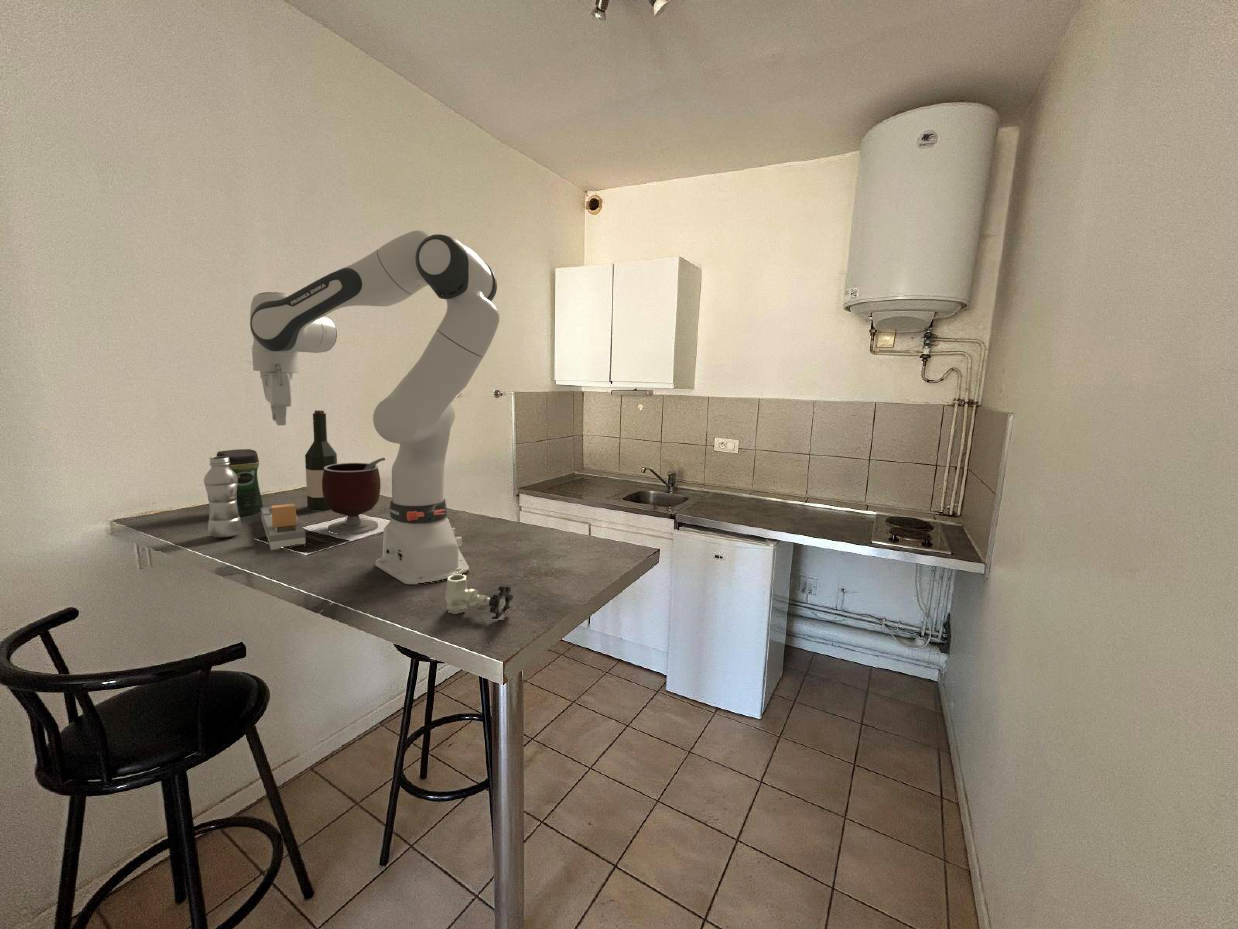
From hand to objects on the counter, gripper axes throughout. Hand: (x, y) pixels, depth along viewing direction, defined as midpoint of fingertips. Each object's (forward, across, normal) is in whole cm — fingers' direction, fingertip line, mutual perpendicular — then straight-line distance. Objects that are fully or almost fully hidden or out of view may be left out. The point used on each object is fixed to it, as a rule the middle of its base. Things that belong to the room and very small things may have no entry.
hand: (279, 422), depth 118 cm
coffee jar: (+30, +31, +8) cm, 43 cm away
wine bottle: (+30, +28, -12) cm, 43 cm away
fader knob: (+27, 0, 0) cm, 27 cm away
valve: (+29, -62, -24) cm, 72 cm away
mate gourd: (+30, +2, -16) cm, 34 cm away
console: (+29, +7, 0) cm, 30 cm away
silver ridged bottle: (+30, +9, +12) cm, 33 cm away
